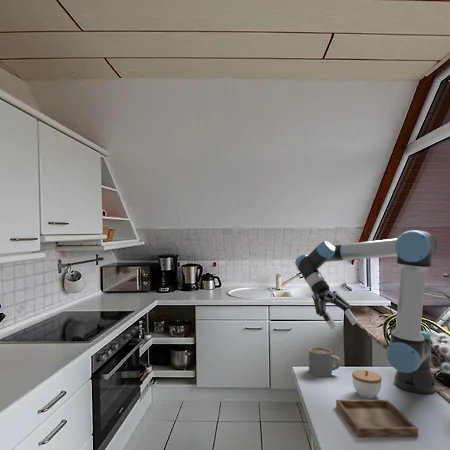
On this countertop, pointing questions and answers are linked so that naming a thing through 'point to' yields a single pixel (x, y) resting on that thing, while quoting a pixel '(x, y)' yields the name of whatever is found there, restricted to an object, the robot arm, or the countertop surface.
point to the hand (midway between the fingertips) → (344, 325)
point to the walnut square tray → (376, 418)
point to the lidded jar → (366, 383)
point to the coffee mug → (322, 362)
